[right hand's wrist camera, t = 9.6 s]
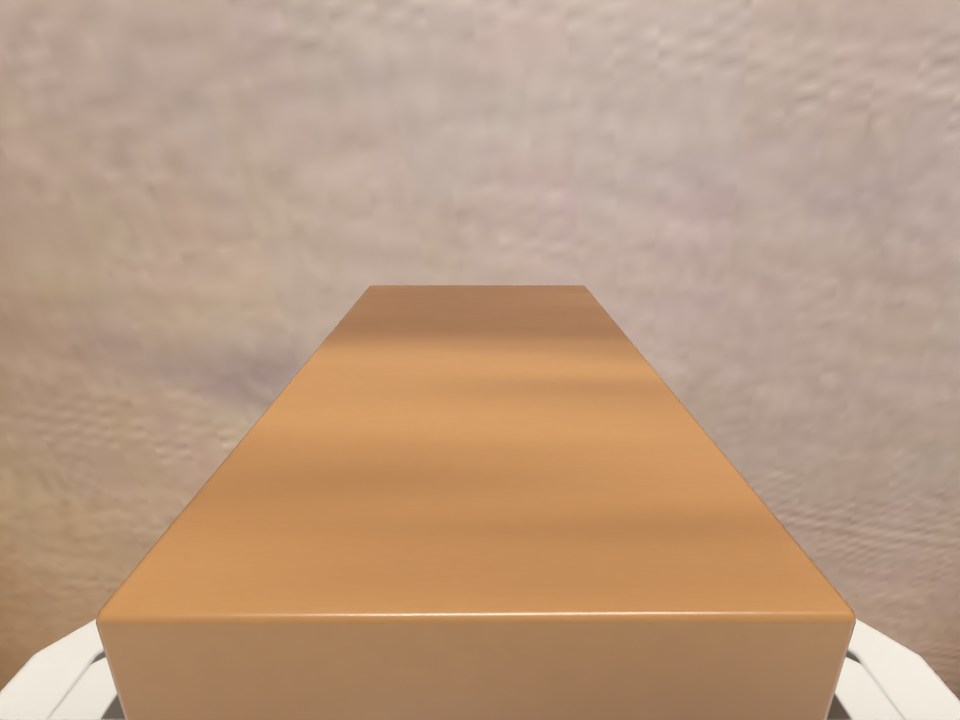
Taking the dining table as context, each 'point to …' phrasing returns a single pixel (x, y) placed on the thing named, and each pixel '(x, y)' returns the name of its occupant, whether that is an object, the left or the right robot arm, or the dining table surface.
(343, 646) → the box
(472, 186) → the dining table surface
